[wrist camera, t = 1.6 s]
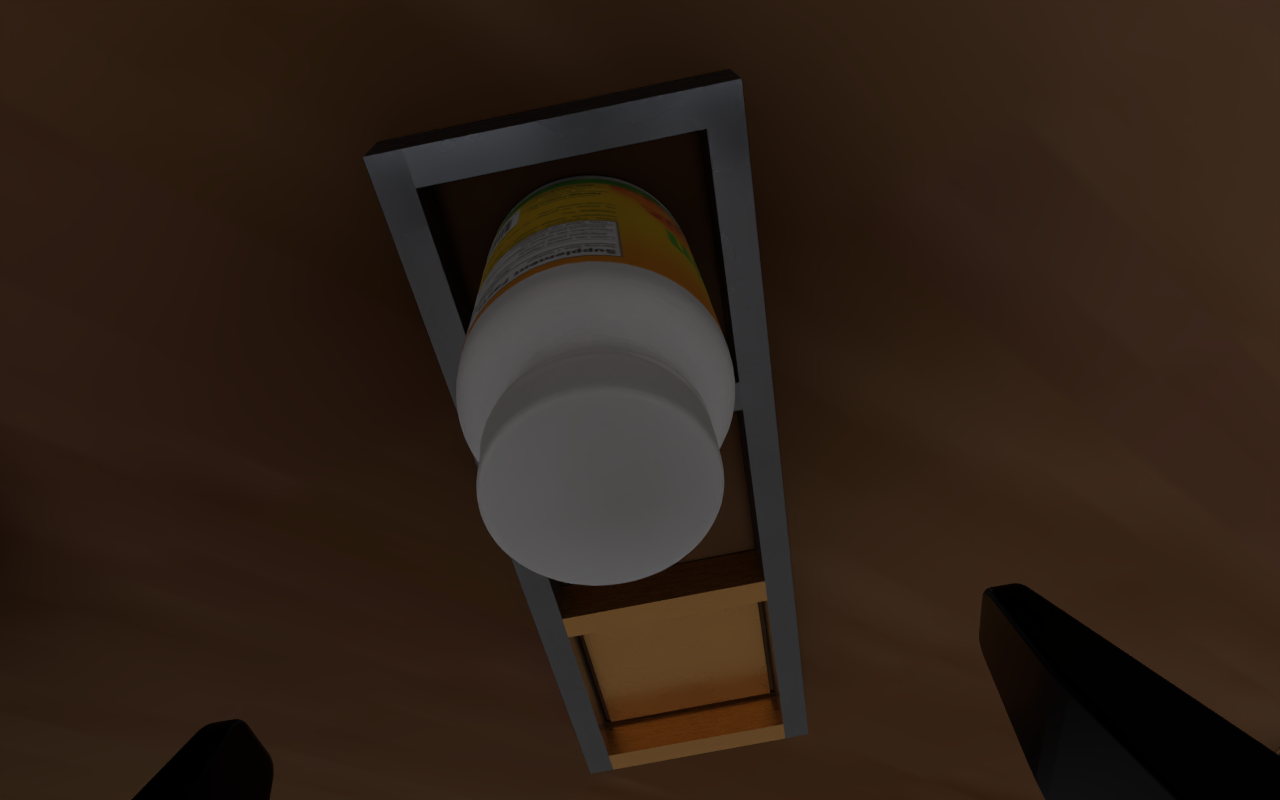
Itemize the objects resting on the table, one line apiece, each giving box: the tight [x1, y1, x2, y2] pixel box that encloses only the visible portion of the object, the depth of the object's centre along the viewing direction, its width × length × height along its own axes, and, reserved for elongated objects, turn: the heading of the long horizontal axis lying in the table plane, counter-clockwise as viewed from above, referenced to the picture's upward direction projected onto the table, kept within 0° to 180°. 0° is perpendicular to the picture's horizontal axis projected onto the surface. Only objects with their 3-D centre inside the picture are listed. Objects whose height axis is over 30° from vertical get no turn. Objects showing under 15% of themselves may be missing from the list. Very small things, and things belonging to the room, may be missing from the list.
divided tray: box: [363, 69, 808, 773], centre depth 23 cm, size 9×24×2 cm, turn 11°
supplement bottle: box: [456, 175, 735, 586], centre depth 16 cm, size 5×5×10 cm
